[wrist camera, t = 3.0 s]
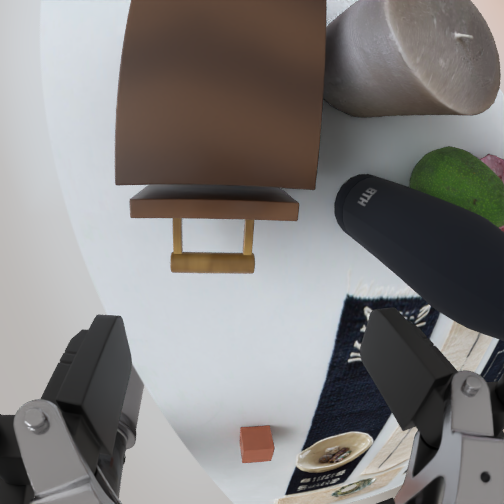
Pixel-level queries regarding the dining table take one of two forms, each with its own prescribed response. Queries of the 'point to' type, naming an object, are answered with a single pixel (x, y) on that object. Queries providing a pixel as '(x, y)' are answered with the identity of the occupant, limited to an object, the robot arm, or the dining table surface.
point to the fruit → (461, 182)
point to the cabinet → (221, 93)
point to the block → (256, 444)
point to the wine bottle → (430, 248)
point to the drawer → (213, 207)
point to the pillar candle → (410, 59)
